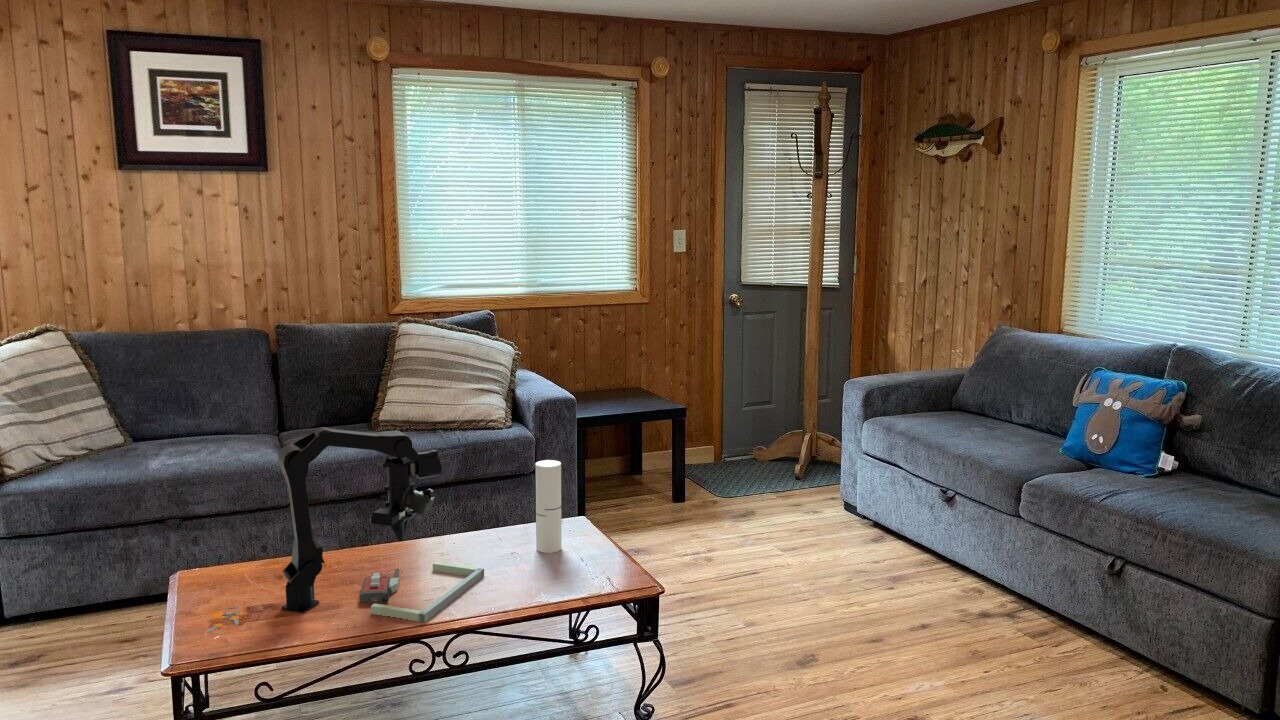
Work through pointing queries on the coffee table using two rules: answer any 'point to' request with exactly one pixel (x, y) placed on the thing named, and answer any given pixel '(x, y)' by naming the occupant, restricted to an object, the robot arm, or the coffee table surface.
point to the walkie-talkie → (378, 588)
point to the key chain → (230, 616)
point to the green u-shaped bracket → (430, 611)
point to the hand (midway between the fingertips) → (401, 540)
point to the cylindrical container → (548, 506)
